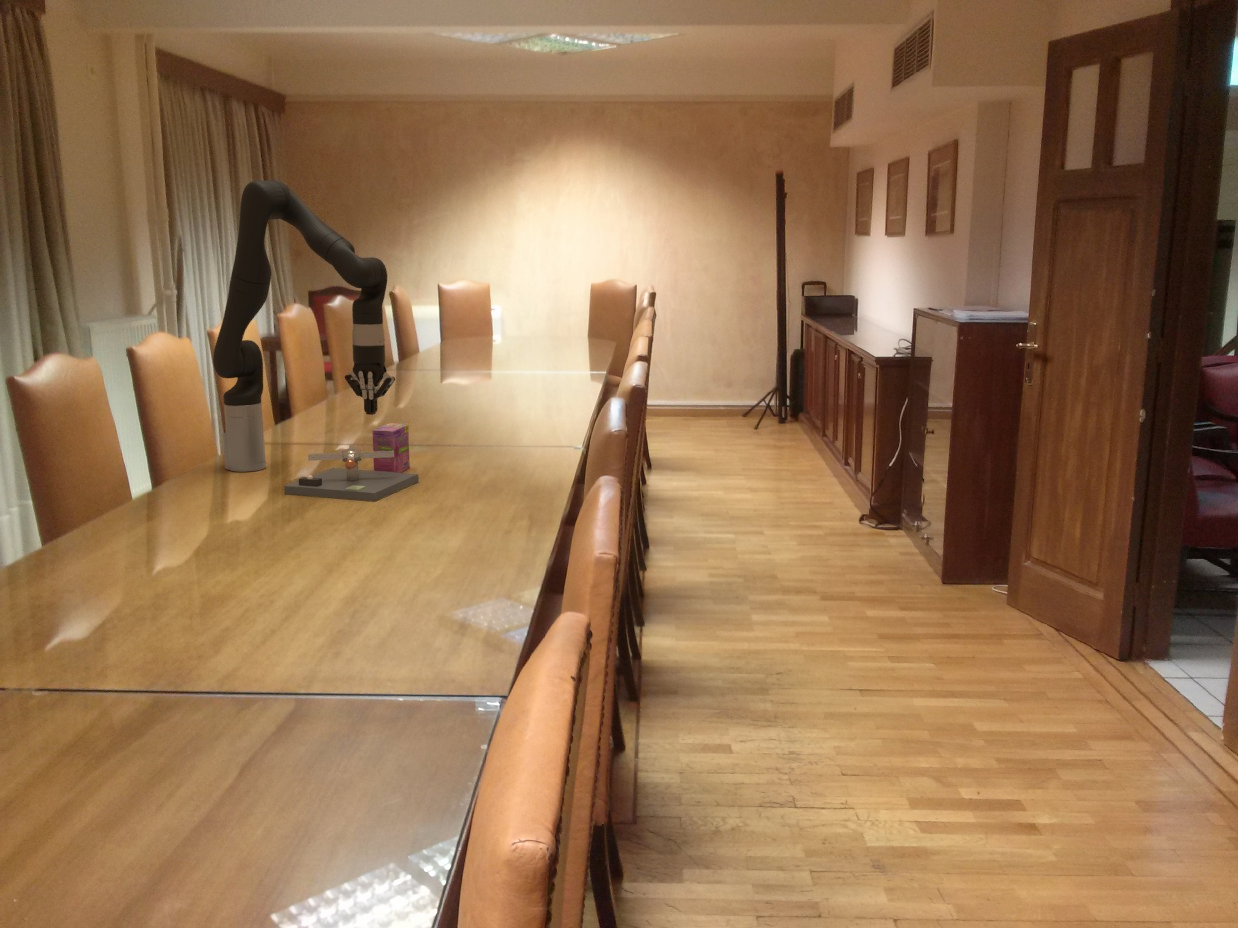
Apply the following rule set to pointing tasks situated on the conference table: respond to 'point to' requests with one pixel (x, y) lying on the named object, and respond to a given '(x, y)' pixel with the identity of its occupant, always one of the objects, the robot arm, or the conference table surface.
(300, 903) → the conference table surface
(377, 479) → the stand
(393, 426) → the box
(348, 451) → the capstan
